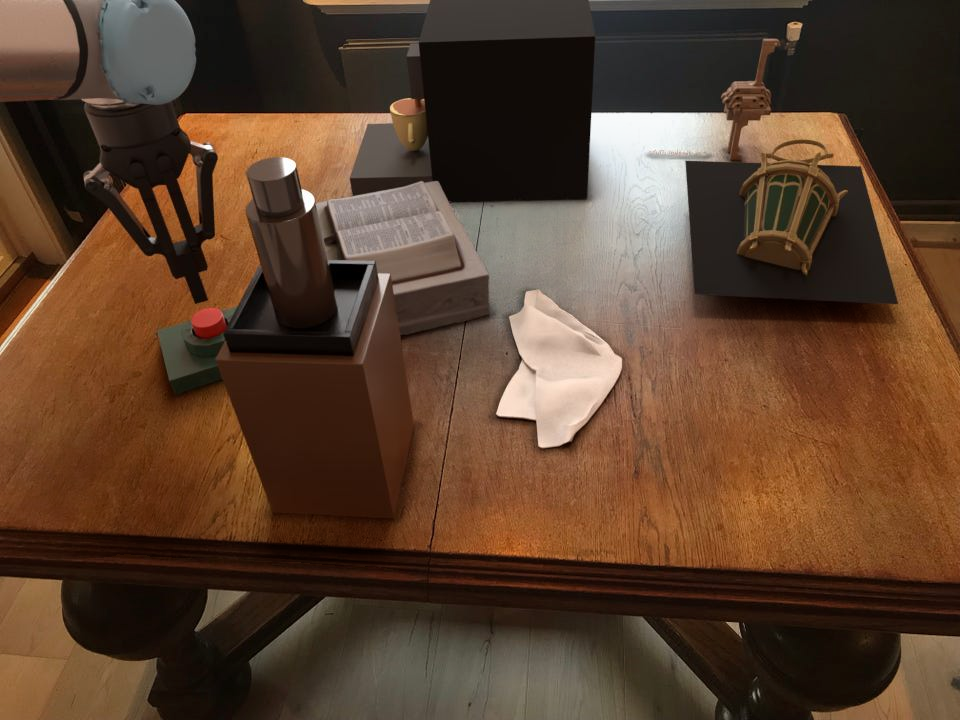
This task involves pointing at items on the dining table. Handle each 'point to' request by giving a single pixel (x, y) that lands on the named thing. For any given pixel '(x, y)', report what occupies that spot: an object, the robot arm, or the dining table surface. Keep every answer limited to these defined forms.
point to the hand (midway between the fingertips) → (199, 295)
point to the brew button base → (191, 355)
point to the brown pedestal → (323, 397)
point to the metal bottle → (290, 244)
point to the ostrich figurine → (744, 103)
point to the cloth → (557, 371)
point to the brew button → (208, 323)
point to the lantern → (785, 231)
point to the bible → (411, 252)
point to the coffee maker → (490, 105)
